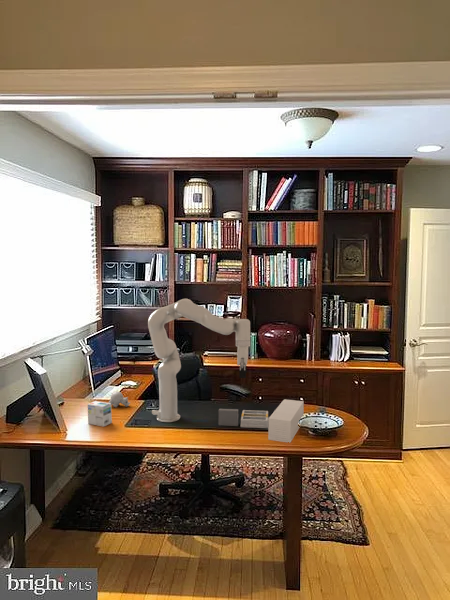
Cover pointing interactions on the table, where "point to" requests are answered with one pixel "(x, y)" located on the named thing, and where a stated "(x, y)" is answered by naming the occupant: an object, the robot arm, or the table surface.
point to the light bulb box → (99, 413)
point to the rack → (254, 419)
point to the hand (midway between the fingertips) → (243, 375)
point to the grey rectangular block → (285, 420)
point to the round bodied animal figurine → (118, 399)
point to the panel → (228, 417)
